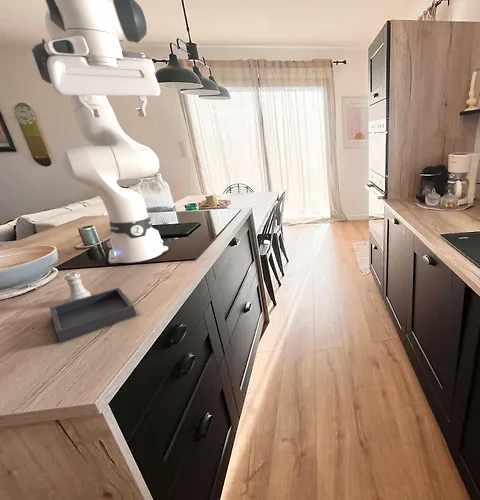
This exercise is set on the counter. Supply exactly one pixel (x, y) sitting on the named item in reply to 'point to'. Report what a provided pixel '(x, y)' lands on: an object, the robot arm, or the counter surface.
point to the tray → (91, 313)
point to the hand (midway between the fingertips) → (120, 116)
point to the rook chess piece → (76, 287)
